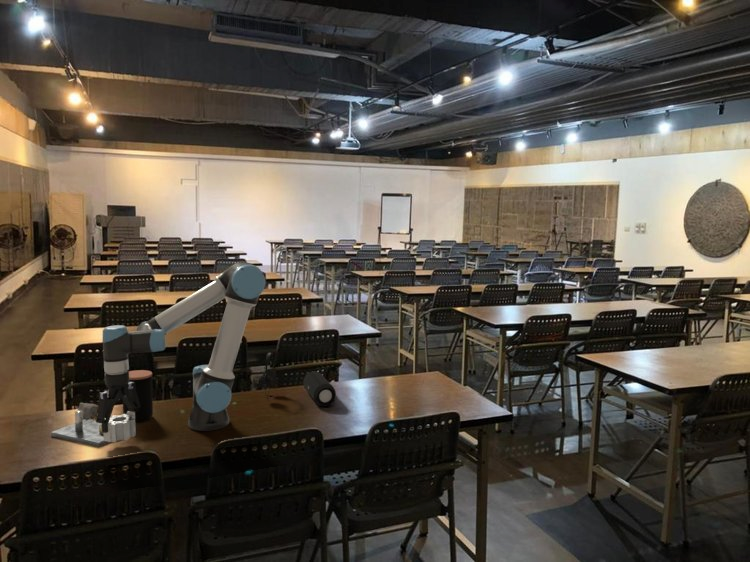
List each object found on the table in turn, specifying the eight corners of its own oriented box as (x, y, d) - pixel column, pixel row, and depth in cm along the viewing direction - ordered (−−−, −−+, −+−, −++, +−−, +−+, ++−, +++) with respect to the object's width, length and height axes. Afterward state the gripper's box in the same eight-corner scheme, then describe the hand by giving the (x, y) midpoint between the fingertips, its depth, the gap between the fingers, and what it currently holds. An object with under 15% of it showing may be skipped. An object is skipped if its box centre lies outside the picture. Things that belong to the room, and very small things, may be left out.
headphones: (282, 403, 242) (283, 358, 239) (256, 402, 242) (257, 357, 239) (288, 392, 256) (289, 349, 254) (264, 391, 257) (264, 349, 254)
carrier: (131, 431, 204) (131, 409, 203) (98, 446, 190) (98, 422, 189) (86, 422, 212) (85, 400, 211) (51, 436, 198) (50, 413, 197)
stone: (100, 419, 215) (99, 405, 215) (76, 422, 212) (76, 407, 211) (100, 411, 224) (99, 397, 223) (77, 414, 220) (76, 399, 220)
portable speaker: (301, 391, 259) (302, 370, 258) (322, 389, 263) (322, 369, 262) (314, 409, 236) (315, 386, 234) (337, 407, 239) (337, 384, 238)
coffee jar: (158, 416, 221) (158, 372, 219) (139, 425, 211) (138, 378, 209) (137, 412, 224) (136, 368, 222) (116, 421, 214) (116, 375, 212)
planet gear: (142, 432, 193) (141, 416, 192) (120, 443, 184) (119, 426, 183) (120, 428, 196) (119, 412, 196) (97, 439, 187) (96, 422, 187)
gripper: (133, 362, 199) (136, 422, 202) (80, 379, 178) (84, 446, 181) (149, 364, 197) (152, 425, 199) (98, 382, 176) (102, 449, 178)
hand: (120, 435), depth 190 cm, fingers closed on planet gear, 10 cm apart
